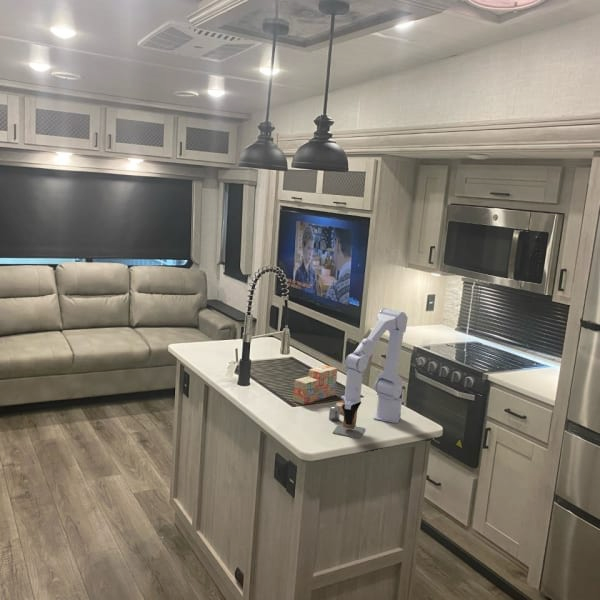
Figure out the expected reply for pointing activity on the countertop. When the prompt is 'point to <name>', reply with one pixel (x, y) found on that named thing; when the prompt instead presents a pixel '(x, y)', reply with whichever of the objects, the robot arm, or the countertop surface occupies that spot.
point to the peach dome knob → (340, 407)
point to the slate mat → (349, 431)
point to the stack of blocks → (315, 385)
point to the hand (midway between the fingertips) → (349, 422)
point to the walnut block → (352, 422)
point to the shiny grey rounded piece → (334, 413)
